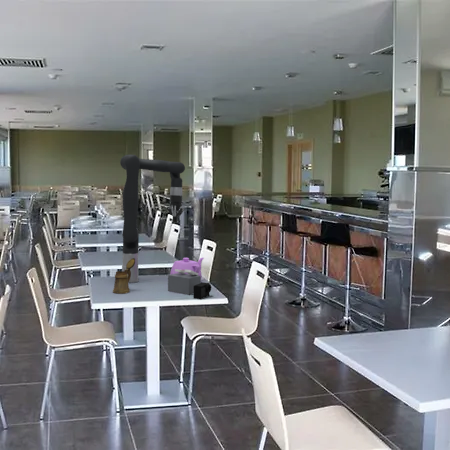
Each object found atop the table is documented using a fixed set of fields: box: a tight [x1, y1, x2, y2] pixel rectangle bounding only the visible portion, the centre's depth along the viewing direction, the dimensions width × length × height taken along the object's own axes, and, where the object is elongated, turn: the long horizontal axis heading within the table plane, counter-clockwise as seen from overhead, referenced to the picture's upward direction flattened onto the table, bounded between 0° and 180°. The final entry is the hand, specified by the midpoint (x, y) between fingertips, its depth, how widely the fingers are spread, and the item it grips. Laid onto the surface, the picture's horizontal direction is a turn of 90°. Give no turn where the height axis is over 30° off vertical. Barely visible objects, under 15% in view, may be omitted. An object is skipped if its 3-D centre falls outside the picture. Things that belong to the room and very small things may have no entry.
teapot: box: [169, 257, 205, 279], centre depth 349 cm, size 23×21×15 cm
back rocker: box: [175, 269, 187, 274], centre depth 327 cm, size 7×4×2 cm, turn 144°
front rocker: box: [185, 269, 198, 275], centre depth 323 cm, size 7×4×2 cm, turn 145°
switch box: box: [167, 273, 202, 296], centre depth 324 cm, size 10×15×9 cm, turn 54°
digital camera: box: [192, 281, 212, 300], centre depth 311 cm, size 10×5×7 cm, turn 155°
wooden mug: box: [112, 258, 135, 295], centre depth 321 cm, size 9×14×18 cm, turn 137°
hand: (175, 222), depth 363 cm, fingers closed
